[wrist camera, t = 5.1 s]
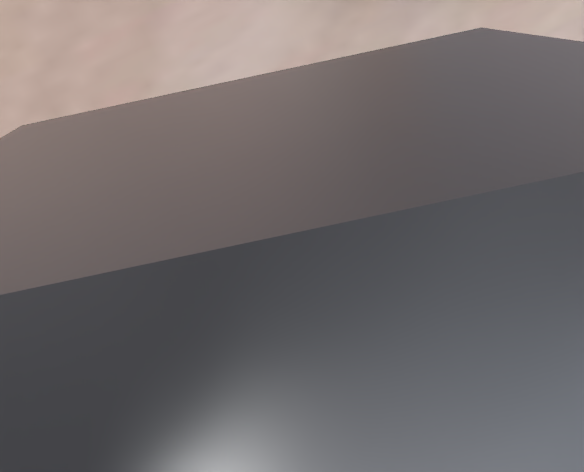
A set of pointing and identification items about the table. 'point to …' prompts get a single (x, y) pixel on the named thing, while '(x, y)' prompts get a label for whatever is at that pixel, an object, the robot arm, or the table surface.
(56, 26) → the table surface
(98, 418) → the slate gray cube
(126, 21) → the table surface
